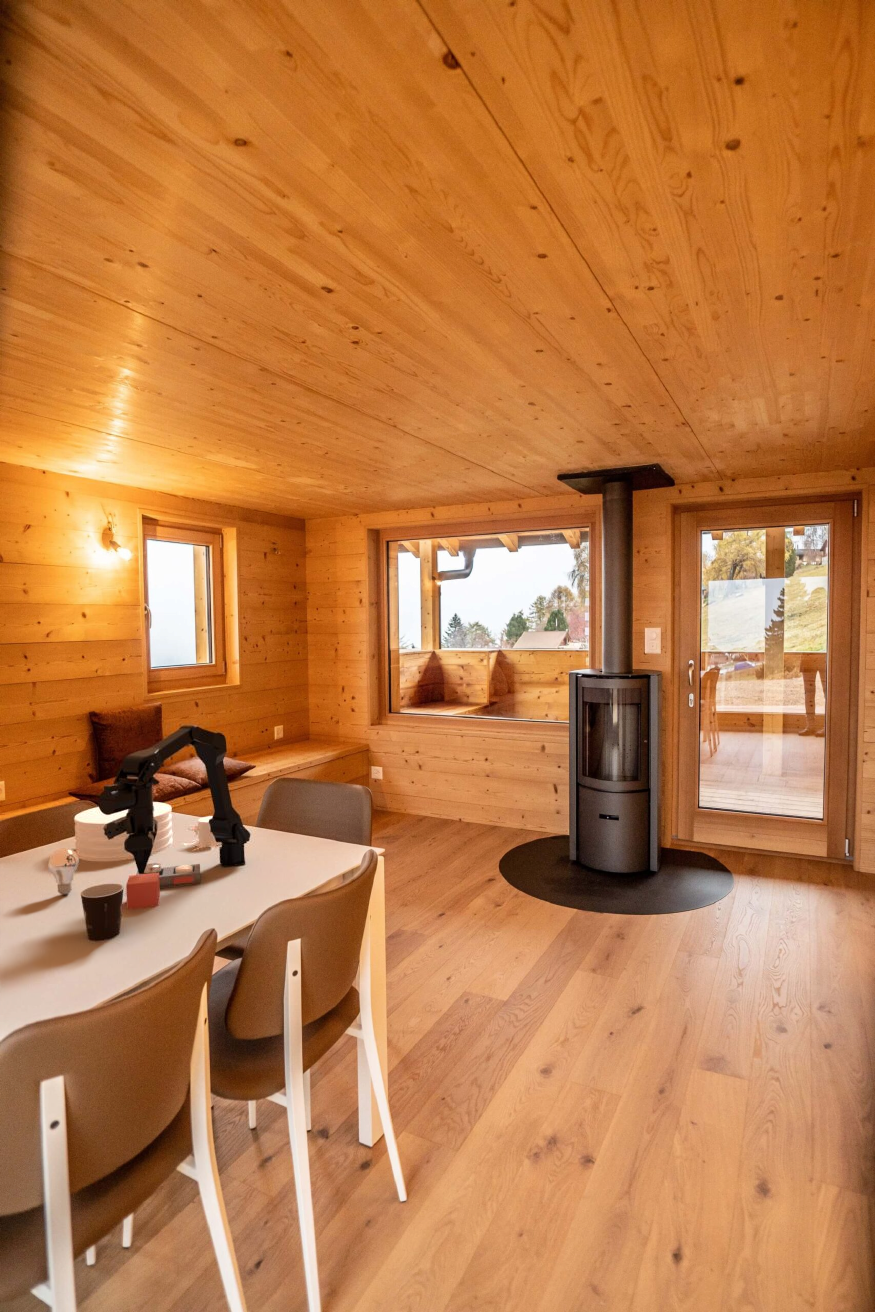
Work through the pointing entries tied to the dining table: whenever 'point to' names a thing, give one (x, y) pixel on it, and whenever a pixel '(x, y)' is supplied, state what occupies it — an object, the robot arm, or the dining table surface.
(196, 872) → the switch box
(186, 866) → the cream switch
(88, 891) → the coffee mug
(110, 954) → the dining table surface
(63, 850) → the light bulb
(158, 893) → the cap
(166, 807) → the plate stack
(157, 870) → the chrome round knob
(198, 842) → the tree stump
